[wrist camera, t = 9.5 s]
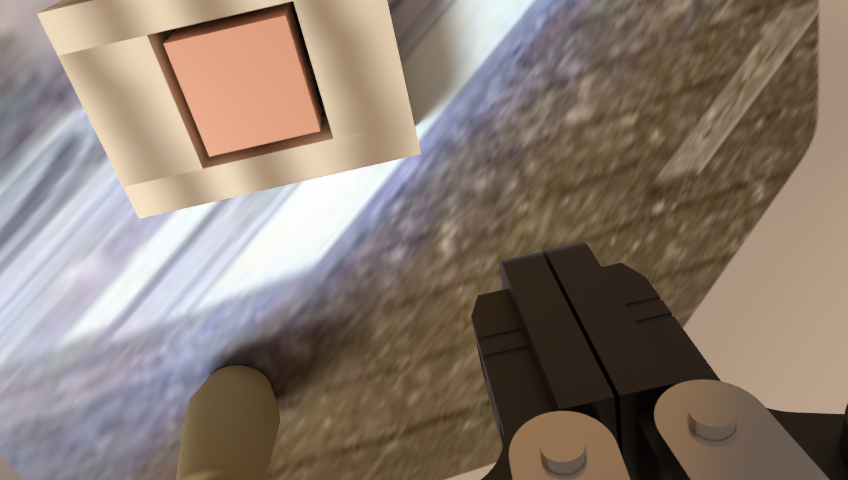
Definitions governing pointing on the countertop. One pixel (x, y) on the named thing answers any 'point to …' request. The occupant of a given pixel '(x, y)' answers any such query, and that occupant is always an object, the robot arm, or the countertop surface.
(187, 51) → the button
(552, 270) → the robot arm
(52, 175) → the countertop surface
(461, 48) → the countertop surface
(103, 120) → the button housing
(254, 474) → the squeeze bottle
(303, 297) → the countertop surface
